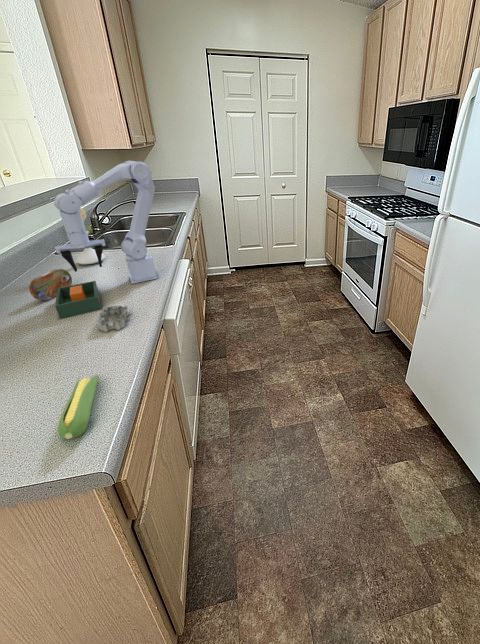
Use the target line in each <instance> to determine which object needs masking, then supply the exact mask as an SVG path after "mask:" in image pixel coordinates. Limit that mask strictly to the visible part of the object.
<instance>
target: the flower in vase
mask: <svg viewBox="0 0 480 644" xmlns="http://www.w3.org/2000/svg"><path fill="white" fill-rule="evenodd" d="M79 211H80V214H81V216H82V219H83V222H84V225H85V229H86V232H87V235H88V236H89V234H90V231H92V230H93V228H92V227H91V226H90V224H86V223H85V221H86V219H87V216H88V215H87V212H86V210H85V209H84V208H82V207H80V210H79ZM105 258H106V255H105V254H104V253H103V252H102V257H101V262H102V261H104V260H105ZM75 263H77V264H79V265H92V264H93V265H94V264H97V263H99V262H98V258H97V255H96V252H95V248H93V247H91V248H85V249H82V252H81V253H80V254H79V255H78V256H77V258H76V262H75Z"/></svg>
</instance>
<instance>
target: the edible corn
mask: <svg viewBox="0 0 480 644" xmlns="http://www.w3.org/2000/svg"><path fill="white" fill-rule="evenodd" d="M80 378H81V377H80V375H79V376H78V378H77V380H76V383H75V385H74V387H73V390H72V392H71V395H70V396H69V399H68V401H67V403H66V405H65V407H64V409H63V411H62V413H61V415H60V419H59V421H58V425H57V433H58V435H59V437H60V438H62V439H65V440H67V439H68V440H69V439H74V438H77V437H79V436H81V435H83V434H84V433H85V432H86V431H87V429H88V426H89V423H90V419H91V415H92V410H93V406H94V405H93V404H94V400H95V395H96V390H97V386H98V381H99V375H98V374H97V375H93V377H91V378H90V377H84V378H82V379H81V380H80Z"/></svg>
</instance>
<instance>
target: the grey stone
mask: <svg viewBox="0 0 480 644" xmlns="http://www.w3.org/2000/svg"><path fill="white" fill-rule="evenodd" d="M128 309H129V308H128V305H124V306H122V305H114V306H113V305H110V306H106V305H105V306H104V305H103V306H102V308H101V311H100V313H99V314H98V316H97V318H96V319H95V323H96V325H97V326H98V328H99V330H100V331H102V332H105V333H107V332H109V331H111V330H113V329H115V330H117V331H119V330H121V329H123V328H125V327H126V322H128V320H127V318H128V317H129V312H128Z"/></svg>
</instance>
